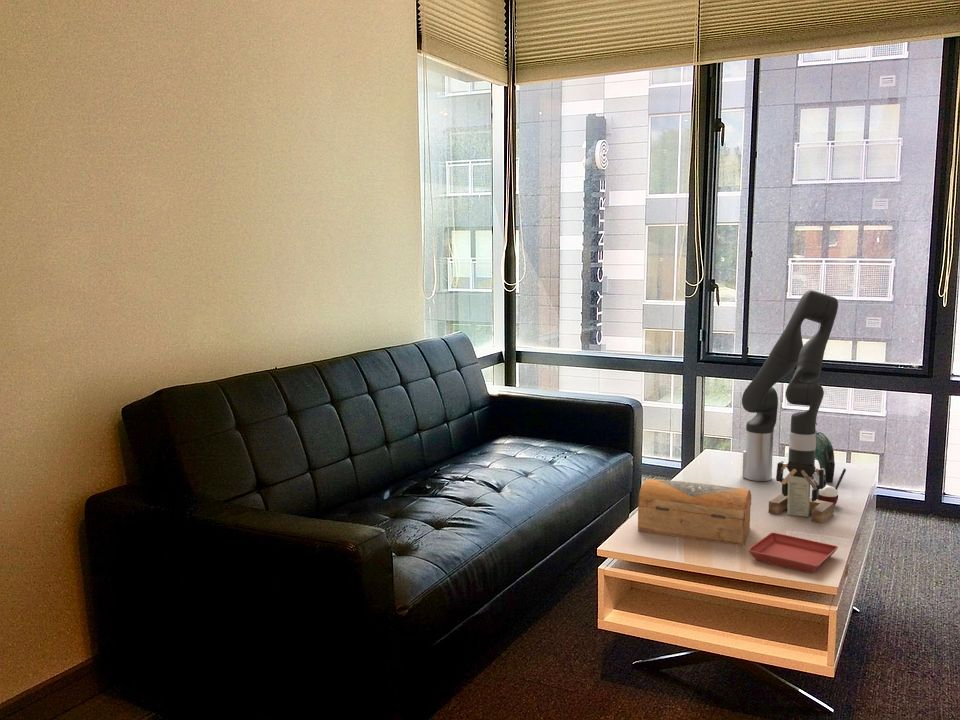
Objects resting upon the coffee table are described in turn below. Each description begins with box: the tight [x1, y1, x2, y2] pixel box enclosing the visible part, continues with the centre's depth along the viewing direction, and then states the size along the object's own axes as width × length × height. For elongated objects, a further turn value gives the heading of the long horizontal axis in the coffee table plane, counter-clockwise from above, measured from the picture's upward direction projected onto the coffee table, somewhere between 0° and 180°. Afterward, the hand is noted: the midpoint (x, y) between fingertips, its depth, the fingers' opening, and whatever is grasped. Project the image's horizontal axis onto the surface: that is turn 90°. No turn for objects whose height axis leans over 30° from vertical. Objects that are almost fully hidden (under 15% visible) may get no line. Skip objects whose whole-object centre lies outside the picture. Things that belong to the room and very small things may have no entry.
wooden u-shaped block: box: [768, 492, 835, 524], centre depth 252 cm, size 16×11×4 cm
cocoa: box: [817, 467, 847, 506], centre depth 259 cm, size 10×6×12 cm, turn 55°
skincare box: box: [786, 476, 811, 518], centre depth 251 cm, size 6×4×12 cm
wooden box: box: [637, 478, 752, 546], centre depth 238 cm, size 30×16×14 cm, turn 64°
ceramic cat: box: [815, 422, 836, 484], centre depth 292 cm, size 20×6×20 cm, turn 6°
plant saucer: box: [747, 532, 839, 574], centre depth 216 cm, size 18×18×3 cm
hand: (799, 498), depth 251 cm, fingers open, 8 cm apart
